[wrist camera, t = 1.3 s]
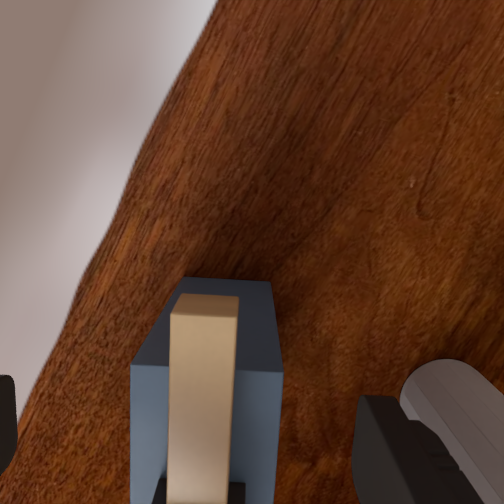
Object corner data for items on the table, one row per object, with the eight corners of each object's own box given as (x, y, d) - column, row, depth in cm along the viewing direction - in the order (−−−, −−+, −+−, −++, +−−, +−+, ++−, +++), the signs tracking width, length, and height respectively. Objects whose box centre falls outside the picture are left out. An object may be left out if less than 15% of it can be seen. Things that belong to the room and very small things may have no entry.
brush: (162, 291, 16) (140, 322, 13) (258, 296, 16) (259, 329, 13) (157, 558, 19) (138, 638, 16) (240, 562, 19) (238, 643, 16)
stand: (182, 276, 30) (129, 363, 17) (270, 281, 30) (284, 372, 17) (179, 383, 31) (129, 537, 18) (262, 388, 31) (270, 544, 19)
